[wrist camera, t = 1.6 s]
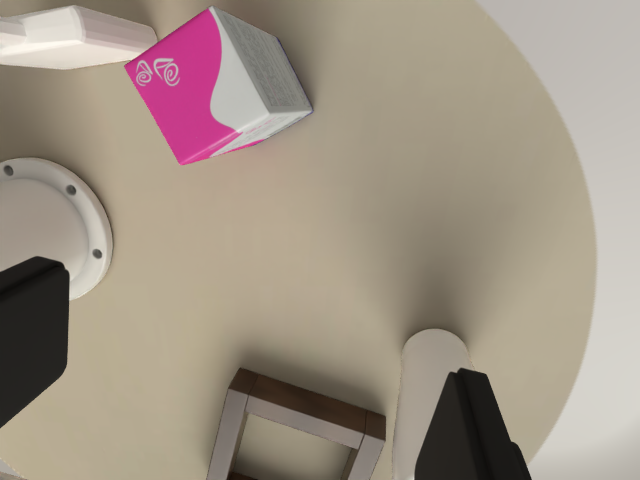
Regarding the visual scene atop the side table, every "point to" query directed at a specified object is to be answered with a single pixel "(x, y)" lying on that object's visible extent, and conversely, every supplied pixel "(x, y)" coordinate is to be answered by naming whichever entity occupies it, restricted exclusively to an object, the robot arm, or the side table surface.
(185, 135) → the supplement box
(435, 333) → the drinking glass
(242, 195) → the side table surface
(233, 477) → the socket
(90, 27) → the perfume bottle
